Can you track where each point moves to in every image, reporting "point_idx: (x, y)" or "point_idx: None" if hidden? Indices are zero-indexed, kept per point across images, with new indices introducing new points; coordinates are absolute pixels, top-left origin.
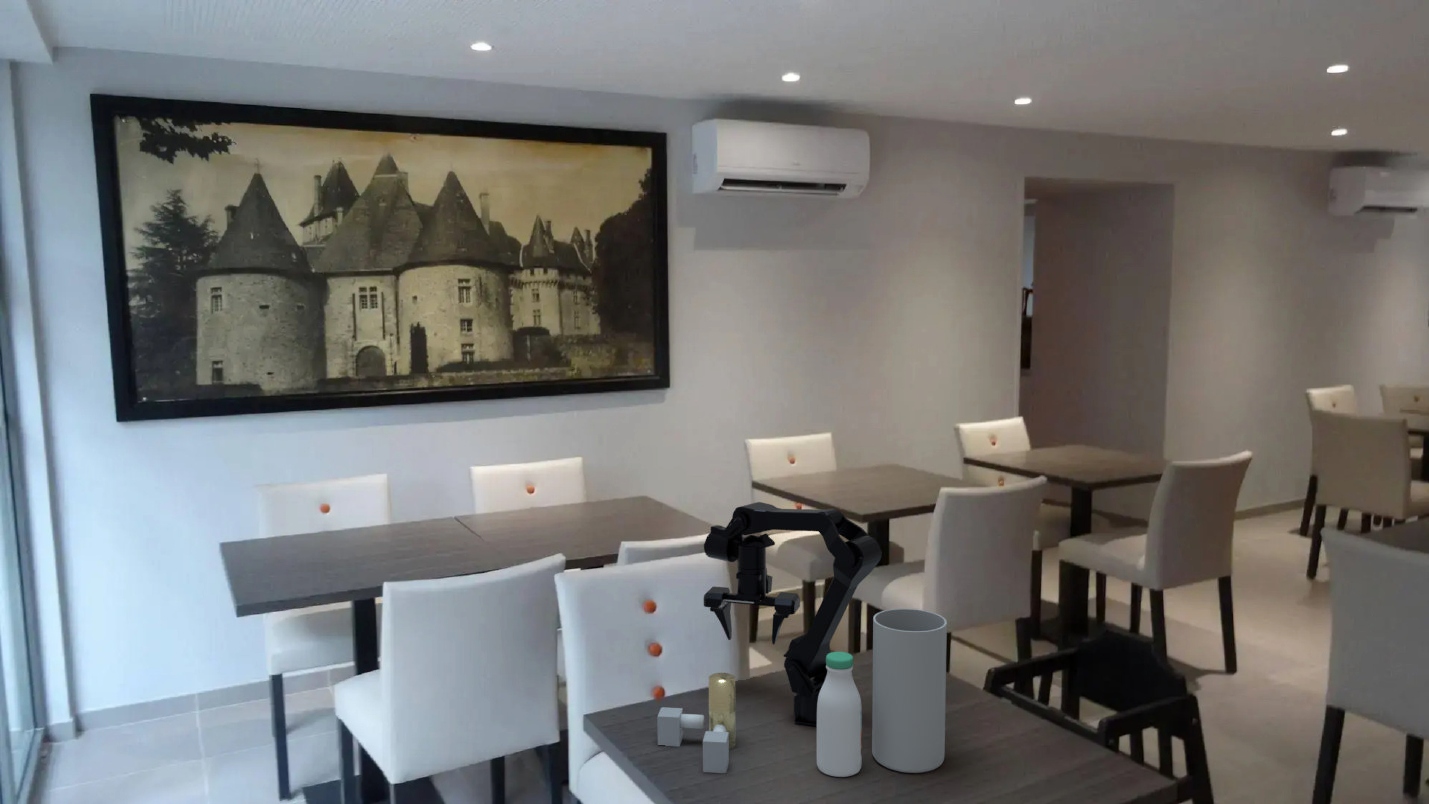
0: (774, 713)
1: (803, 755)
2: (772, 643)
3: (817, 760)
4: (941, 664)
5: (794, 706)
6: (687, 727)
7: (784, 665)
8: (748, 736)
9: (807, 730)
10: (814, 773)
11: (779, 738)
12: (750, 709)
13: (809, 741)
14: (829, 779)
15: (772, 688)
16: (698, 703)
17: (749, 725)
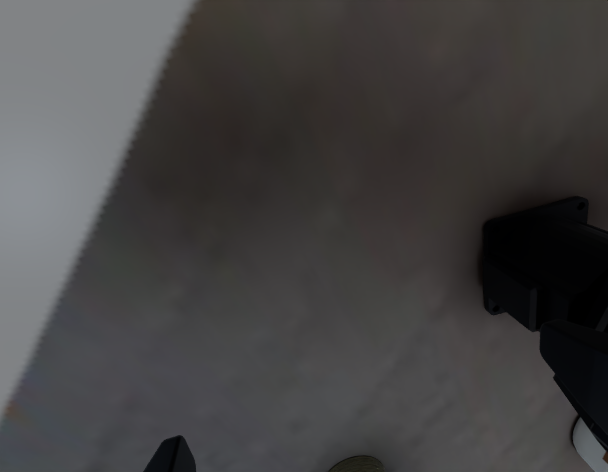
0: (409, 281)
1: (537, 421)
2: (546, 362)
3: (589, 465)
4: None
5: (506, 311)
6: None
7: (603, 443)
8: (395, 423)
9: None
10: (568, 459)
11: (468, 392)
12: (328, 297)
13: (538, 366)
14: None
15: (318, 85)
16: (145, 351)
17: (372, 379)
